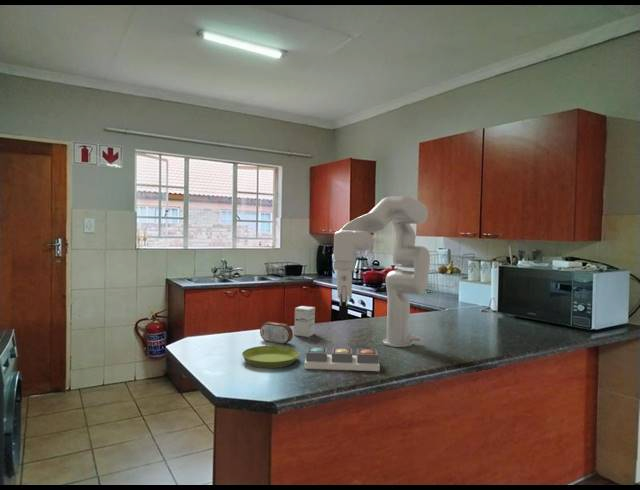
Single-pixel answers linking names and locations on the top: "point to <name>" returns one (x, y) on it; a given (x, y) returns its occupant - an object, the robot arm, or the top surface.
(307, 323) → the supplement box
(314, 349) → the teal button
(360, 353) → the brick button
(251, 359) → the saucer
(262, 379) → the top surface
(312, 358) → the button panel
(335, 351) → the ochre button
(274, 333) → the tin
